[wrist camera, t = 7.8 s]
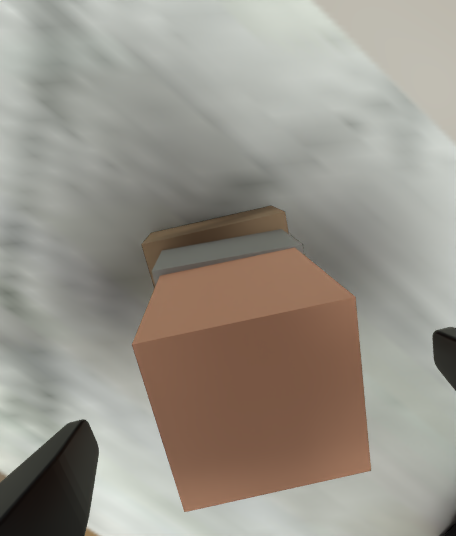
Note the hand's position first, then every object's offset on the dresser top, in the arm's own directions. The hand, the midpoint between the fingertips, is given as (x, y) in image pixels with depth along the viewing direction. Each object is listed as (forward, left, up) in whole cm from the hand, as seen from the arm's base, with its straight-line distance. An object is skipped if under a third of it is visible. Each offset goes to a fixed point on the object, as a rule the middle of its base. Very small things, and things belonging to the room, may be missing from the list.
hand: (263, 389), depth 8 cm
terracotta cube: (0, 0, -3) cm, 3 cm away
